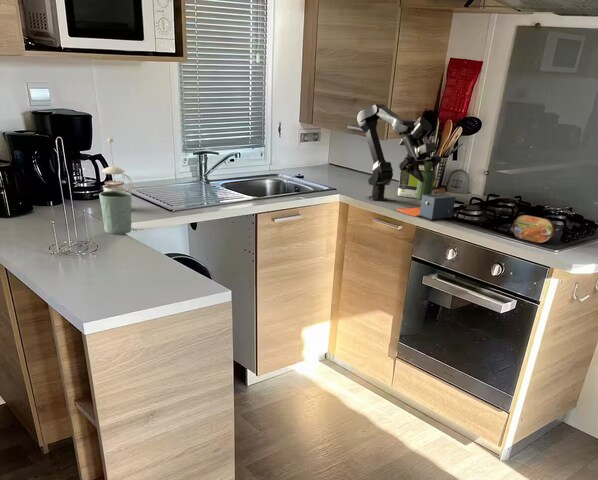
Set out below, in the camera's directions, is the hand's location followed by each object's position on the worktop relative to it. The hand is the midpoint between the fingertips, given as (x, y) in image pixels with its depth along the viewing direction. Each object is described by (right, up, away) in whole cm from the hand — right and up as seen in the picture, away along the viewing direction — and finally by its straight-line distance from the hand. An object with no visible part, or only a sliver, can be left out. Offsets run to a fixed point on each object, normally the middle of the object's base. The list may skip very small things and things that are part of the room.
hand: (428, 180), depth 244 cm
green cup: (-113, -32, -42) cm, 125 cm away
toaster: (+3, -15, 0) cm, 15 cm away
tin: (+32, -31, -24) cm, 51 cm away
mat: (-2, -10, +8) cm, 13 cm away
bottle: (-1, -5, +4) cm, 7 cm away
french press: (-121, -16, -15) cm, 123 cm away
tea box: (+2, +6, +37) cm, 38 cm away
